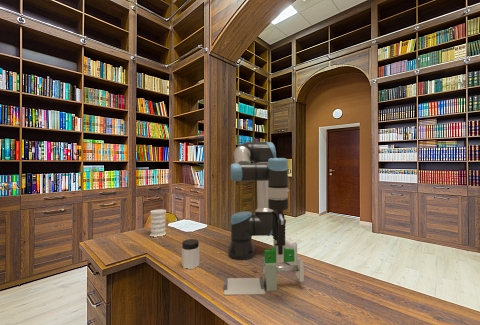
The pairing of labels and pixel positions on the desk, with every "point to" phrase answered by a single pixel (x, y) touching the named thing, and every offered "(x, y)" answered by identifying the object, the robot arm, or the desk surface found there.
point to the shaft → (292, 268)
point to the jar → (190, 253)
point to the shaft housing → (270, 276)
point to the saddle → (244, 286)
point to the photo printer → (291, 245)
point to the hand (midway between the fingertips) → (278, 259)
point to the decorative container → (158, 222)
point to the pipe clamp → (273, 255)
